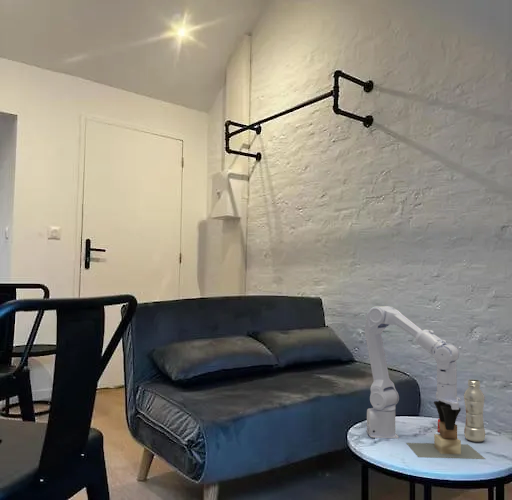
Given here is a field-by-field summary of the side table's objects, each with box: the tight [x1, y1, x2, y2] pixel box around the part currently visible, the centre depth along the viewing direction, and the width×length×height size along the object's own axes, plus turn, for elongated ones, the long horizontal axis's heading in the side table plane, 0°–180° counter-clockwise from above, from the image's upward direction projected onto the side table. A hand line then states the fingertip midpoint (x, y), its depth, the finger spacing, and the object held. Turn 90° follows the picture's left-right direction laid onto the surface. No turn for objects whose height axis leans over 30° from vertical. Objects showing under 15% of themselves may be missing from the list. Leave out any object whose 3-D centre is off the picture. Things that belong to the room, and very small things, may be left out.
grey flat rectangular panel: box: [406, 442, 486, 460], centre depth 151 cm, size 20×13×1 cm, turn 88°
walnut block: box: [439, 421, 458, 439], centre depth 151 cm, size 4×4×4 cm
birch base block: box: [433, 433, 462, 454], centre depth 151 cm, size 6×6×4 cm
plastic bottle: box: [463, 378, 486, 443], centre depth 162 cm, size 6×7×20 cm
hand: (447, 427), depth 151 cm, fingers closed on walnut block, 4 cm apart
